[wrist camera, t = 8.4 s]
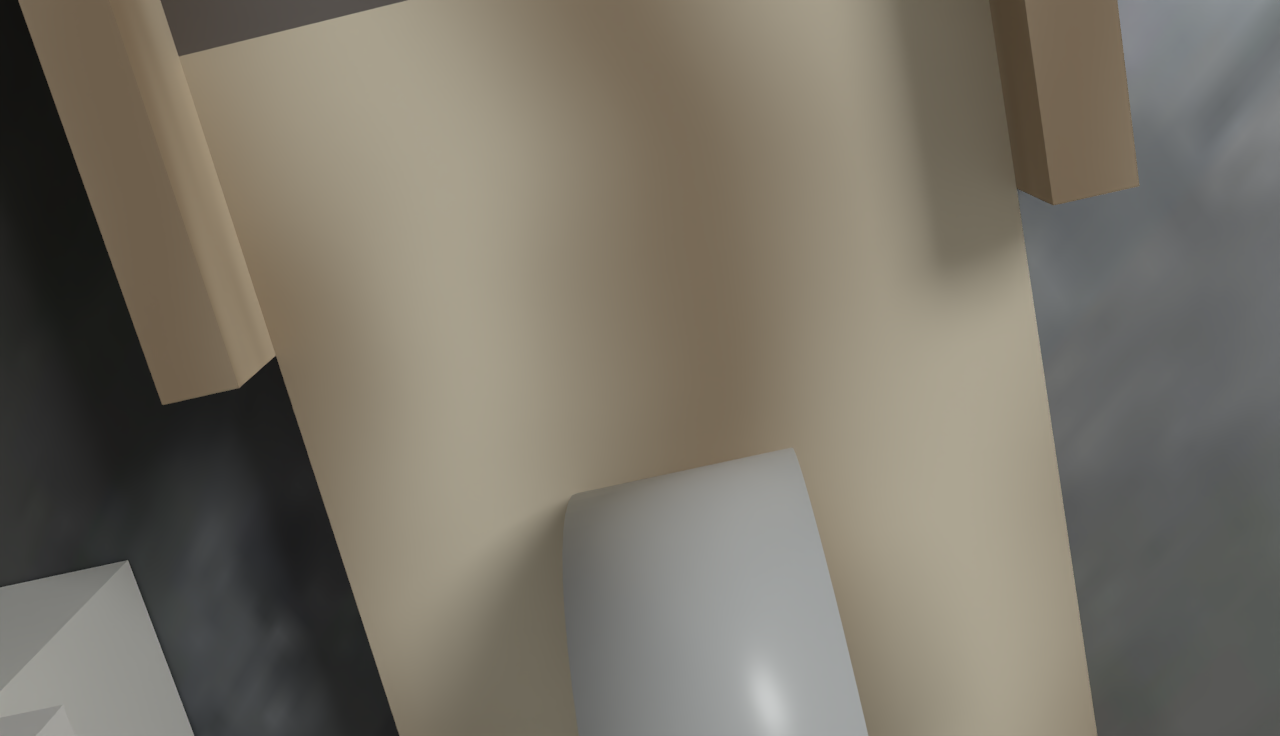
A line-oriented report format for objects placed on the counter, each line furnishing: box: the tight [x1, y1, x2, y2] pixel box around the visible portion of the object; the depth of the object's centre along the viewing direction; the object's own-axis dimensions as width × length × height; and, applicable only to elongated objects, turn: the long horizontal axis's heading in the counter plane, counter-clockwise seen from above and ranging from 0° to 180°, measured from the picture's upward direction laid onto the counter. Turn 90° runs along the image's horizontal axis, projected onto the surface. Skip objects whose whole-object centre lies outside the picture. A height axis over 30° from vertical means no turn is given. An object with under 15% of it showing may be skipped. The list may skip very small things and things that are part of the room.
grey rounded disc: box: [562, 447, 868, 736], centre depth 16 cm, size 3×7×7 cm, turn 13°
